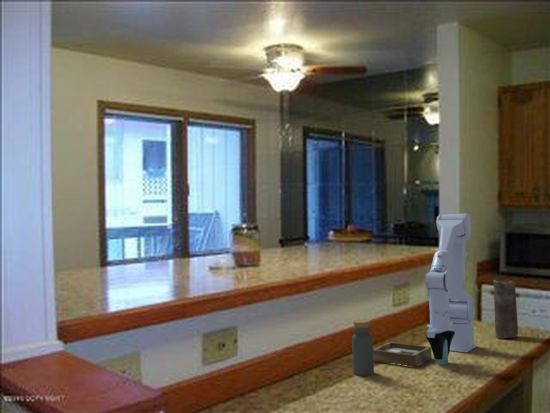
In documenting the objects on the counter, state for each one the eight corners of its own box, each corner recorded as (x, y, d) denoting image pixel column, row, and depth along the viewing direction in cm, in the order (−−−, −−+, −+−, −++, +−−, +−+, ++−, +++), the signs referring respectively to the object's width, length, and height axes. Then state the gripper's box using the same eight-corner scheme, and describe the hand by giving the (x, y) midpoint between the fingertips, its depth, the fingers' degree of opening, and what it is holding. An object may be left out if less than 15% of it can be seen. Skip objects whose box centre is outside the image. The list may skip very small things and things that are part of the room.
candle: (498, 334, 203) (496, 278, 203) (520, 336, 198) (517, 278, 198) (493, 338, 196) (490, 280, 197) (515, 340, 192) (512, 281, 192)
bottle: (361, 369, 167) (359, 318, 167) (378, 372, 163) (375, 320, 163) (349, 373, 163) (346, 321, 163) (365, 377, 158) (363, 323, 159)
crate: (390, 352, 184) (390, 341, 184) (431, 358, 175) (431, 346, 175) (372, 361, 174) (371, 349, 174) (414, 367, 166) (413, 355, 166)
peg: (438, 361, 171) (437, 338, 171) (450, 363, 169) (449, 339, 169) (433, 364, 168) (432, 340, 168) (445, 365, 166) (444, 342, 166)
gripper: (436, 306, 177) (438, 350, 177) (416, 314, 166) (418, 361, 166) (458, 308, 172) (460, 353, 172) (439, 316, 161) (441, 364, 161)
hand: (441, 357), depth 169 cm, fingers open, 4 cm apart
